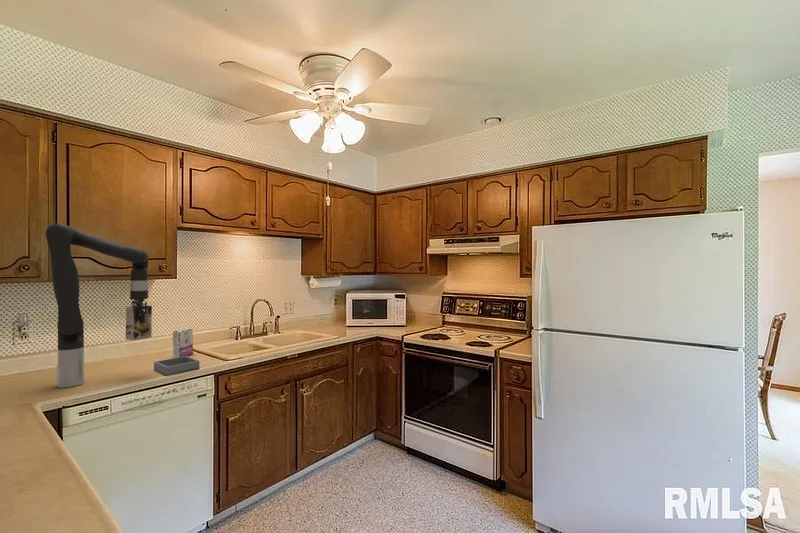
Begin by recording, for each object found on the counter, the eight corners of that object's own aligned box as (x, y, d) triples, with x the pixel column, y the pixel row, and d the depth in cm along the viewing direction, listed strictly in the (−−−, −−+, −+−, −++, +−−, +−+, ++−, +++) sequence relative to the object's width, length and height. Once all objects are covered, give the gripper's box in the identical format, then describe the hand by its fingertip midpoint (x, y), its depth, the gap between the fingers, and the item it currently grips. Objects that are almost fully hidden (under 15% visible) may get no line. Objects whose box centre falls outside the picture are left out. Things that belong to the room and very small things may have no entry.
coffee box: (134, 340, 182) (134, 307, 182) (125, 339, 184) (125, 307, 184) (152, 337, 190) (152, 305, 190) (142, 336, 192) (143, 305, 192)
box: (166, 376, 189) (166, 367, 189) (153, 370, 200) (153, 361, 200) (199, 369, 202) (199, 360, 201) (186, 363, 212) (186, 355, 212)
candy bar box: (186, 354, 235) (185, 328, 235) (193, 354, 234) (193, 328, 234) (172, 358, 224) (172, 331, 224) (180, 359, 223) (179, 331, 223)
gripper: (125, 289, 189) (125, 321, 189) (135, 290, 180) (135, 324, 180) (142, 288, 194) (142, 320, 194) (152, 289, 185) (153, 322, 186)
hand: (139, 322), depth 187 cm, fingers closed on coffee box, 8 cm apart
